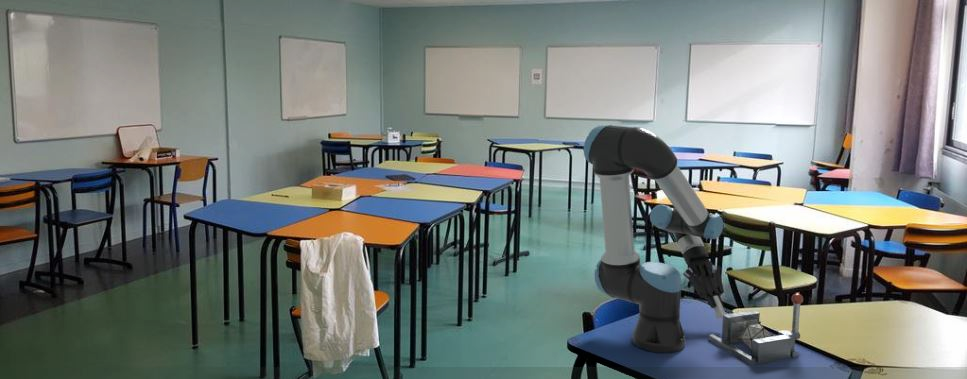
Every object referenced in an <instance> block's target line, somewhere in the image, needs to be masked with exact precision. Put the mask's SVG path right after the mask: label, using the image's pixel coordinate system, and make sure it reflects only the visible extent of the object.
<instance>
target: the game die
mask: <svg viewBox="0 0 967 379" xmlns="http://www.w3.org/2000/svg"><path fill="white" fill-rule="evenodd" d="M761 323H762V321H760V320H759V324H755V325H749V326H748V325H747V324H746V326H747V327H746V328H744V329H745V331H744V333H743V335H742V338H739V339H738V340H742V341H743V342H744V344H745V345H746V346H747V347H748V348H749V349H750V350H751V351H750V353H751V354H752V344H753V340H755V339H761V338H767V337H773V336H775V334H771V332H768V330H766V328H765V327H764V326H763V325H761Z"/></svg>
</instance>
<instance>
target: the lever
mask: <svg viewBox="0 0 967 379" xmlns="http://www.w3.org/2000/svg"><path fill="white" fill-rule="evenodd" d="M791 302H792V303H793V307H792V308H793V309H792V323H791V324H792V325H791V331H790V332H792V333H794V334H795V341H796V340H799V339H800V338H801V334H800V331H799V329H800V314H801V313H800V310H801V304H802V303H803V302H804V297H803V295H802V294H800V293H794V294H793V295H792V296H791Z"/></svg>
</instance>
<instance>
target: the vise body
mask: <svg viewBox="0 0 967 379" xmlns="http://www.w3.org/2000/svg"><path fill="white" fill-rule="evenodd" d="M707 340H708V341H710V342H712V343H713V344H715V345H717V346H719V347H720V348H722V349H723V350H725V351H727V352H728V353H730V354H732V355H733V356H735V357H737V358H739V359H741V360H742V361H744V363H746V364H749V365H752V366H753V365H757V364H764V362H765V363H770V362H774V361H775V362H776V361H780V360H787V359H790V358H797V357H798V352H797V351H796V350H795V344H796V340H795V334H794V333H792V332H791V331H790V330H787V329H784V330H777V335H774V336H771V337H767V338H761V339H755V340H753V344H752V350H751V351H752V353H751V355H750V354H748V353H746V352H745V351H742V350H741V349H739V348H737V347H736V346H734V345H733V344H729V343H727V342H725V341H724V340H722V338H720V337H718V336H717V335H715V334H713V333H712V334H708V338H707Z"/></svg>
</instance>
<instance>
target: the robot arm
mask: <svg viewBox="0 0 967 379" xmlns="http://www.w3.org/2000/svg"><path fill="white" fill-rule="evenodd" d="M583 156H584V158H585V160H586V161H587V162H588V163H589V164H591V165H593V173H594V175H595V176H596V177H597V178H599V185H600V186H599V188H600V198H601V199H600V200H601V212H602V213H601V214H602V224H603V237H604V238H603V239H604V248H605V252H604V253H603V254H601V257H600V260H599V261H598V262H597V264H596V267H595V268H596V269H594V282H595V285H596V287H597V289H598V290H599V291H600V292H601V293H602V294H604V295H606V296H609V297H610V298H612V299H619V300H621V301H625V302H629V303H633V304H637V305H639V306H638V308H639V309H638V311H639V313H638V319H637V322H636V324H635V326H634V330H633V332H632V343H633V342H634V343H635V344H636V345H637V346H639V347H641V348H643V349H642V350H644V349H646V350H645V351H647V350H649V351H648V352H653V353H662V354H663V353H675V352H679V351H681V350H682V349H684V348H685V346H686V337H685V333H684V329H683V326H682V322H681V319H680V318H681V317H680V316H681V315H680V314H681V294H682V293H681V292H682V286H683V285H682V276H681V273H680V271H679V270H678V269H677V268H676V267H674V266H672V265H671V264H670V265H669V264H666V263H663V262H656V261H647V262H644V263H642V264H641V257H640V254H639V253H638V252H637V251H636V250H635V244H634V242H635V241H634V231H633V230H634V229H633V214H632V213H633V212H632V200H631V187H630V176H631V174H632V173H634V170H638V171H639V170H640V172H641V171H642V172H643V173H645V175H646V177H648V178H649V179H651V180H655V182H656V183H657V185H658V186H659V188H660V189H661V191H662V192H663V194H664V195H665V196H666V197H667V199H668V200H669V202H670V203H671V205H672V206H673V207H670V206H669V205H665V204H658V205H656V206H654V207H653V208H652V210H651V211H650V214H649V220H650V222H651V224H652V225H653V226H654V227H656V228H657V229H661V230H663V231H666V232H669V233H671V234H673V236H674V239H675V240H676V243H677V244H678V247H679V249H680V252H681V254H682V257H683V259H684V262H685V264H686V265H687V269H685V271H684V272H683V274H682V275H683V276H684V277H685V278H686V279H688V281H689V282H690V284H691V285H692V287H693V289H694V290H695V291H696V293H697V295H698V296H699V297H700V299H704V300H705V301H706V302H708V304H709V307H710V308H711V309H713V311H714V313H715V316H716V319H723V315H725V314H727V313H726V312H725V309H724V303H723V300H722V298H721V295H723V294H724V293H725V290H724V285H723V281H722V280H723V279H722V275H721V268H722V267H721V266H720V265H717V266H716V265H714V264H713V263H712V262H711V260H710V256H709V254H708V251H707V249H706V247H705V245H704V242H703V239H702V238H704V239H712V240H717V239H718V238H719V237H720V236H721V234H722V232H723V229H724V222H723V219H722V217H721V216H720V215H717V214H715V213H712V214H711V213H710V212H709V211H708V210H707V208H706V207H705V205H704V203H703V202H702V200H701V199H700V197H699V196H698V194H697V193H696V191H695V189H694V188H693V187H692V185H691V183H690V182H689V180H688V179H687V177H686V176H685V174H684V173H683V172H682V170H681V168H680V167H679V166H678V163H679V162H678V158H677V156H676V155H675V153H674V152H673V151H672V149H671V147H670V146H669V145H668V144H667V143H666V142H665V141H664V140H663V139H662V138H660V137H659V136H658V135H656V133H654V132H652V131H650V130H648V129H646V128H644V127H640V126H639V127H638V126H637V127H636V126H621V125H619V126H618V125H612V124H608V125H607V124H606V125H598V126H596V127H594V128H592V129H591V130H590V132H589V133H588V136H586V138H585V141H584V144H583ZM634 343H633V344H634ZM635 344H634V345H635ZM636 345H635V346H636ZM637 346H636V347H637ZM639 347H638V348H639ZM641 348H640V349H641Z"/></svg>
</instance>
